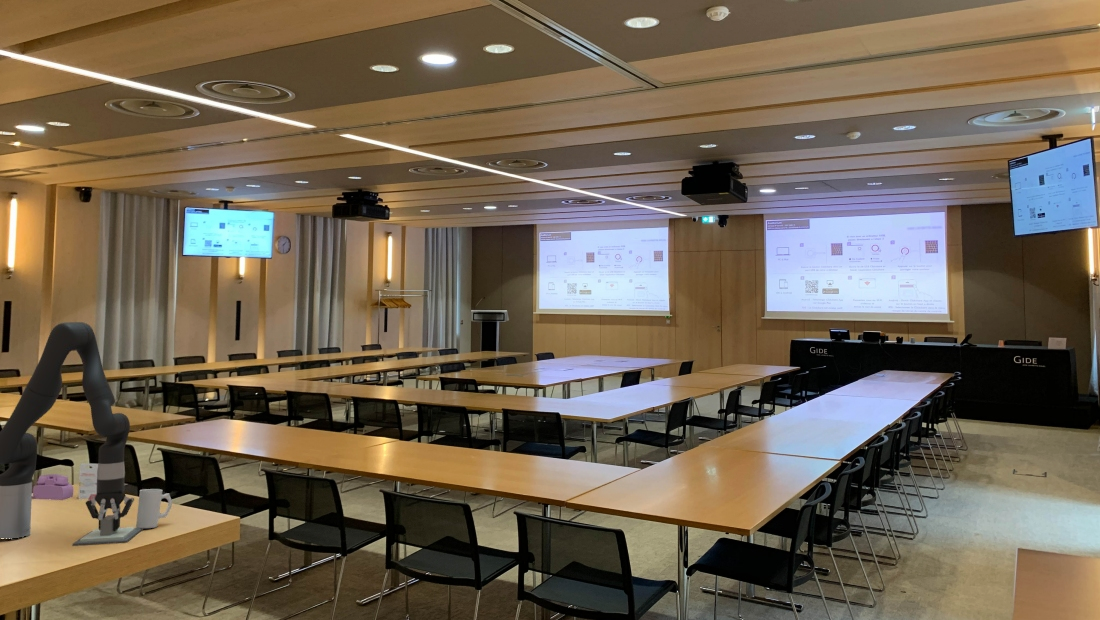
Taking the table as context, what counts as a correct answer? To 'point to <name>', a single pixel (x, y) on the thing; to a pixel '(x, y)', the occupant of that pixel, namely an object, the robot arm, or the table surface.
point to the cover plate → (111, 537)
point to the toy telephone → (53, 487)
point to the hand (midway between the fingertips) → (109, 530)
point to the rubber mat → (109, 540)
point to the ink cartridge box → (88, 481)
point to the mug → (151, 508)
